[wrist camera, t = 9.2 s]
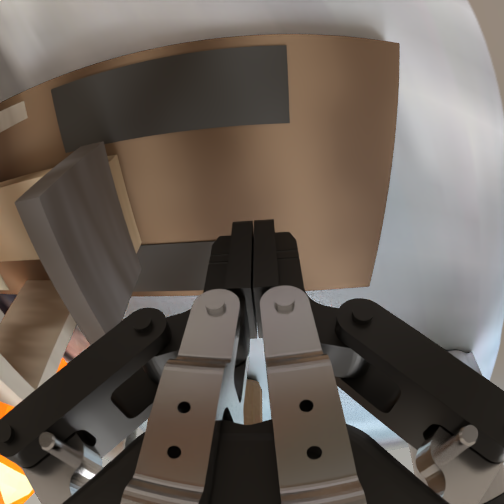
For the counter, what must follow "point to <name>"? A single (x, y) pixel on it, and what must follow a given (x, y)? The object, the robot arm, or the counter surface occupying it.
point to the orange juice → (14, 471)
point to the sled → (76, 234)
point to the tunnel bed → (210, 165)
